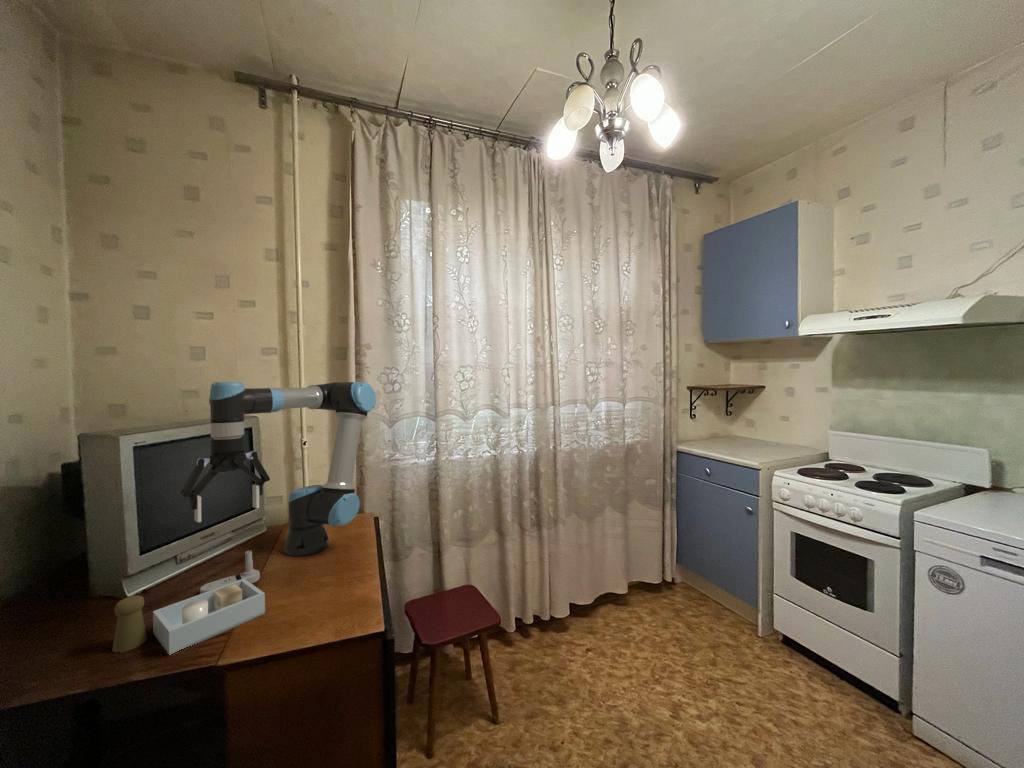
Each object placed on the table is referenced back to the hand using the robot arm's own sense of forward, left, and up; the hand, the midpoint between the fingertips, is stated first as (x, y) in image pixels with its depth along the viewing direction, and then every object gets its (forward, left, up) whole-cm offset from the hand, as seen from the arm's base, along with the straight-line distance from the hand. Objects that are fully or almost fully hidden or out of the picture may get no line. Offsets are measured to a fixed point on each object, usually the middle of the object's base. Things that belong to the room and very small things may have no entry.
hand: (228, 514), depth 107 cm
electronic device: (-5, -14, -27) cm, 31 cm away
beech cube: (0, 0, -26) cm, 26 cm away
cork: (+19, -3, -27) cm, 33 cm away
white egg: (+9, +6, -26) cm, 28 cm away
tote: (+5, +3, -27) cm, 27 cm away
